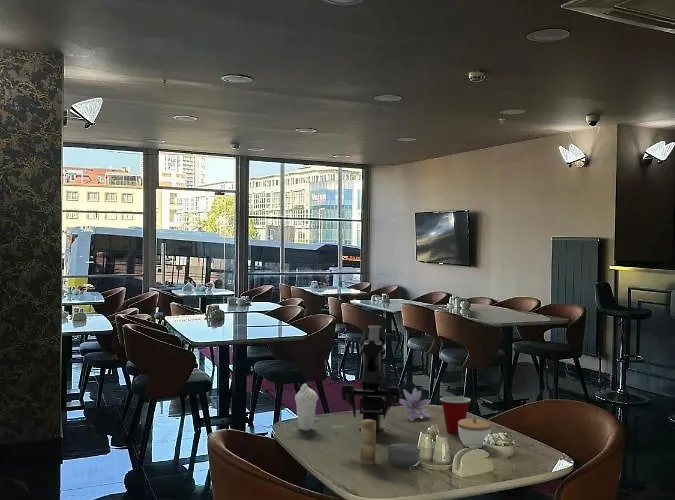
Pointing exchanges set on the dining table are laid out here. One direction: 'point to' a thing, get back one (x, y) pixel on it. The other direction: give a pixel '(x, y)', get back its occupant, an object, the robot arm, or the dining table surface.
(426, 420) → the dining table surface
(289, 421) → the dining table surface
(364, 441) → the oak pillar
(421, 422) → the dining table surface
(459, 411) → the plastic cup
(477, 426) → the lidded jar
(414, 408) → the water lily
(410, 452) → the grey round bowl
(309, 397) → the soft serve ice cream cone
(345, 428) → the dining table surface
